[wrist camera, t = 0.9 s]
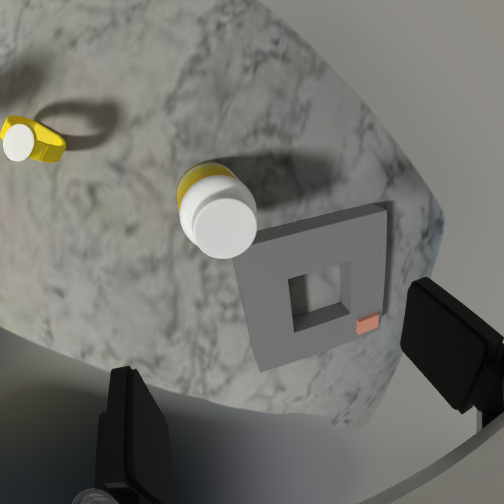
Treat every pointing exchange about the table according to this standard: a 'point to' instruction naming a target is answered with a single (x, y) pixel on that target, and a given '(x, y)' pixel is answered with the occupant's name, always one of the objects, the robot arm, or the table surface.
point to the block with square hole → (306, 261)
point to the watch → (30, 140)
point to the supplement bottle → (216, 210)
